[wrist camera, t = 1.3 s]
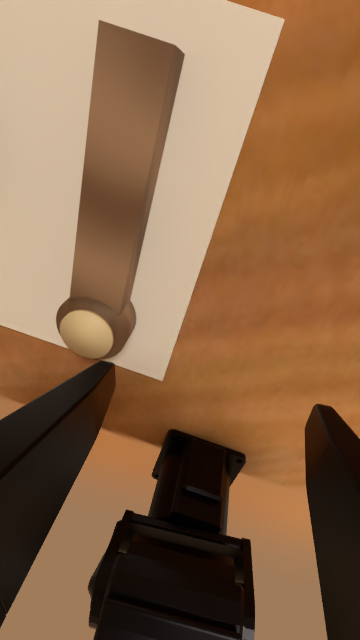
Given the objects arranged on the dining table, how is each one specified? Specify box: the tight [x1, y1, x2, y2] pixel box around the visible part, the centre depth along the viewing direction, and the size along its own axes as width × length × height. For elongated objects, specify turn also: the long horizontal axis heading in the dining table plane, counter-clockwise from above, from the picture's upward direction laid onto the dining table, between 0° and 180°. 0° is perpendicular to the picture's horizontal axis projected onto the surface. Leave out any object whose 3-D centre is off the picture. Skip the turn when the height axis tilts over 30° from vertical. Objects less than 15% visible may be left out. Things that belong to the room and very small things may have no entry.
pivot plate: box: [0, 0, 285, 381], centre depth 18 cm, size 20×22×3 cm
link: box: [56, 20, 185, 360], centre depth 18 cm, size 16×4×2 cm, turn 164°
